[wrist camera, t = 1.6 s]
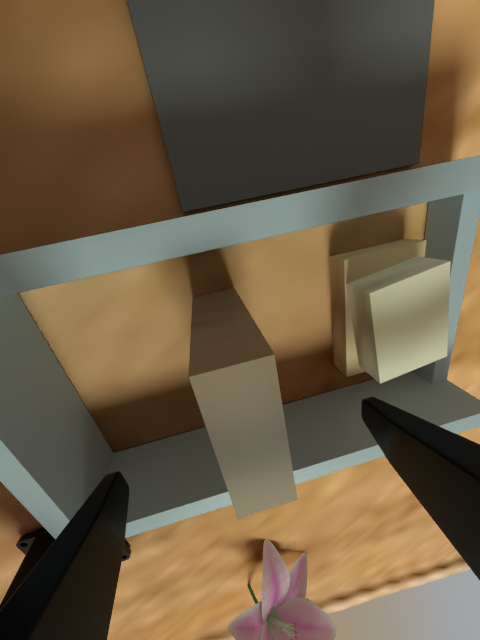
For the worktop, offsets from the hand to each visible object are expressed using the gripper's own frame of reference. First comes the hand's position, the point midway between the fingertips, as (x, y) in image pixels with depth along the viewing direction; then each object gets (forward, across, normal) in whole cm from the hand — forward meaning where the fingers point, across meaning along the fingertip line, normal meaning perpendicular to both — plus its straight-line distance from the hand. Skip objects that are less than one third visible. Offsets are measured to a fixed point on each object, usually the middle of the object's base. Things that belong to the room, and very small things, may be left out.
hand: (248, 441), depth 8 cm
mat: (+7, -6, -13) cm, 16 cm away
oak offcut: (+8, -10, 0) cm, 13 cm away
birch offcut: (+6, -10, 0) cm, 12 cm away
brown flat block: (+8, 0, 0) cm, 8 cm away
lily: (+8, +1, +29) cm, 30 cm away
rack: (+8, -2, 0) cm, 8 cm away
